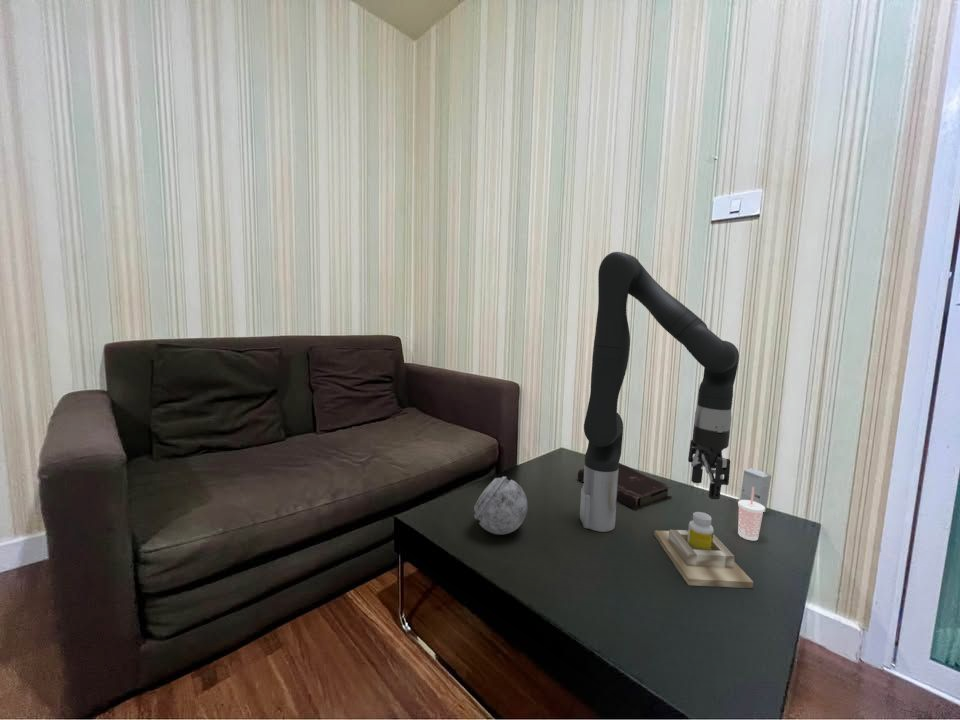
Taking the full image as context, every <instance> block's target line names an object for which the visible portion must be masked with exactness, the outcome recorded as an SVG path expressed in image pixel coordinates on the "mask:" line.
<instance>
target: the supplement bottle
mask: <svg viewBox="0 0 960 720" xmlns="http://www.w3.org/2000/svg"><path fill="white" fill-rule="evenodd" d="M687 530H688V538H687V543H688V544H689V545H690V547H691V548H692V549H693V550H712V542H713V534H714V533H715V532H714V527H713V525H712V516H711V515H710V514H708V513H706V512H701V511H695V512H693V513H692V520H690V521H689V522H688V529H687Z"/></svg>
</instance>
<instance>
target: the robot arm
mask: <svg viewBox="0 0 960 720" xmlns="http://www.w3.org/2000/svg"><path fill="white" fill-rule="evenodd" d="M597 279H598V283H597V284H598V287H597V289H598V296H597V297H598V302H597V303H598V304H597V305H598V306H597V314H596V322H595V332H594V340H593V347H592V358H591V359H592V360H591V362H592V363H591V373H590V374H591V375H590V394H589V400H588V404H587V409H586V413H585V414H586V415H585V419H584V423H583V431H584V432H583V433H584V435H585V438H586V439H587V441H588V445H587V447H586V448H587V449H586V452H585V454H584V465H583V466H584V468H583V469H584V483H583V482H582V483H583V484H582V485H583V486H581V489H580V503H579V504H580V507H579V508H580V509H579V519H580V522H581V523H582V527H583V529H589V530H592V531H595V532H599V533H601V532H602V533H605V532H611V531H613V530H614V529H615V526H616V515H617V502H618V501H617V486H618V471H619V463H620V461H621V457H622V450H623V449H622V448H623V437H624V423H623V419H622V417H621V415H620V413H618V401H619V395H620V392H621V389H622V386H623V383H624V380H625V376H626V373H627V369H628V365H629V364H628V363H629V359H630V358H629V357H630V348H631V334H630V327H629V322H628V315H627V314H628V313H627V305H628V296H631V297H633V298H634V299H635V300H637V301H638V302H639V303H640V304H641V305H643V306H644V307H645V308H646V310H647V311H648V312H649V313H650V315H651V316H652V317H653V318H654V319H655V321H656V322H657V323H658V324H659V325H660V326H661V328H663V329H664V330H665V331H666V332H667V333H668V334H670V336H672V337H673V338H674V339H675V340H676V341H678V342H679V343H680V344H681V345H683V347H685V348H686V350H687V351H688V353H689V354H690V355H691V356H692V357H693V359H694V360H696V361H697V362H698V363H699V364H700V365H701V366H702V367H703V369H704V370H703V377H702V381H701V383H700V384H699V387H698V395H697V403H696V408H695V411H694V420H693V421H694V423H693V428H692V429H693V430H692V439H691V440H690V443H689V450H688V456H687V457H688V458H687V460H688V463H690V465H691V468H692V469H691V470H692V471H691V482H692V483H694V484H701V483H702V480H703V473H704V472H703V471H704V468H705V473H706V474H708V476H709V480H710V482H709V486H708V487H709V489H708V498H710V499H711V500H720V498H721V492H722V490H721V489H722V486H729V485H730V484H729V483H730V472H731V460H730V458H724V457H723V455H722V454H723V452H722V451H723V450H724V449H727V448H728V447H729V444H730V437H731V427H732V419H733V418H732V417H733V416H732V406H733V399H734V384H735V381H736V376H737V371H738V367H739V361H740V352H739V350H738V348H737V347H736V345H735V344H734V343H732V342H730V341H727V340H723V339H721V338H720V337H719V336H717V335H716V334H715V332H713V331H712V330H710V329H709V328H708V326H707V324H706V322H704V321H703V320H702V319H701V318H700V316H698V315H697V314H695V312H693V311H692V310H690V309H689V308H688V307H687V306H685V305H684V304H683V303H682V302H680V301H679V300H678V299H677V298H675V296H673V295H672V294H671V293H669V292H668V291H667V290H665V288H663V287H662V286H661V285H660V284H659V283H658V282H657V281H656V280H655V279H654V278H653V277H652V276H651V275H650V273H649V272H648V271H647V269H646V268H645V267H644V266H643V265H642V264H641V262H640V261H639V259H638V258H636V257H635V256H634V255H631V254H629V253H626V252H622V251H612V252H610V253H609V254H607V255H606V256H605V257H604V258H603V259H602V260H601V263H600V264H599V268H598V278H597Z"/></svg>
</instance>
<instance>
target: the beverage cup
mask: <svg viewBox="0 0 960 720" xmlns="http://www.w3.org/2000/svg"><path fill="white" fill-rule="evenodd" d="M753 495H754V487H752V494H751V500H740V499H739V500H738V502H737V505H738V521H737V522H738V527H737V534H738V535H739V536H740V538H743V539H744V540H748V541H757V540H759V536H760V530H761V525H762V520H763V517H764V516H763V515H764V513H765V512H764V511H765V507H764V506H763V505H761V504H760V503H757V502H754V501H753ZM763 512H764V513H763Z"/></svg>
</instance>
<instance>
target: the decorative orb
mask: <svg viewBox="0 0 960 720" xmlns="http://www.w3.org/2000/svg"><path fill="white" fill-rule="evenodd" d="M473 509H474V515H473V517H474V518H475V520H478V521H479V523H478V524H479V525H480V526H481V528H483V530H485V531H487V532H489V533H491V534H493V535H498V536H499V535H501V536H502V535H507V534H511V533H512V532H513V533H514V532H515V531H516V530H518V529H519V528H520V526H521V525H522V524H523V523H524V521H525V519H526V516H527V514H528V499H527V496H526V493H525V491H524V490H523V488H522V486H521V485H519V484H518V483H517V482H516V481H515V480H513V479H510V480H509V479H508V477H507V476H502V477H495V478H494V479H493V480H492V481H491V482H490V483H489V484H488V485H487V486H486V487H485V488H484V490H483V491H482V493H481V494H480V495H479V497H478V499H477V500H476V503H475V504H474V506H473Z"/></svg>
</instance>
